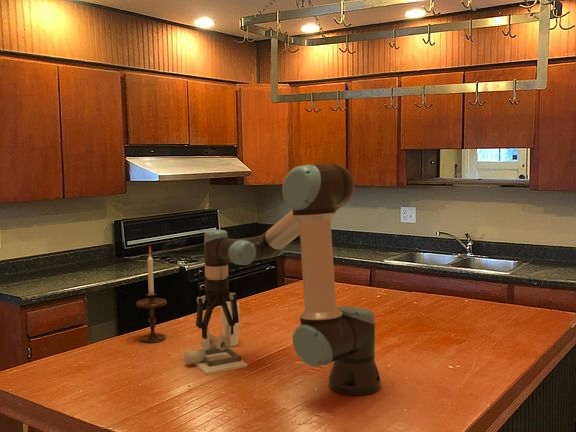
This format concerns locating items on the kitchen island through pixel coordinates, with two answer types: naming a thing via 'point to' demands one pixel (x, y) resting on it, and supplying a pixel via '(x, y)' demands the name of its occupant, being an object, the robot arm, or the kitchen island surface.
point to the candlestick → (151, 306)
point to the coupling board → (214, 359)
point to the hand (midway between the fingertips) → (218, 346)
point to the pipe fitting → (219, 342)
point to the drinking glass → (235, 328)
